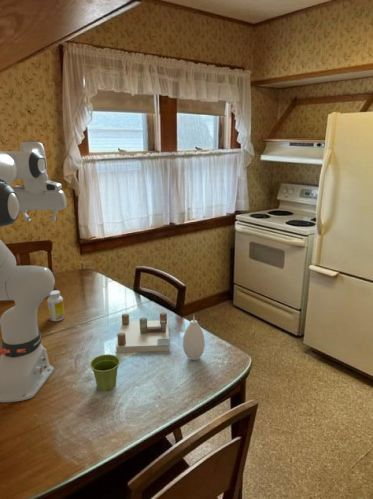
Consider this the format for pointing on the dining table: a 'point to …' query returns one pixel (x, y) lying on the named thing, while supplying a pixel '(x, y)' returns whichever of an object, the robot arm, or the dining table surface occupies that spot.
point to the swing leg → (151, 329)
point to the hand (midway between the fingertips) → (41, 221)
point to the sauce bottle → (193, 340)
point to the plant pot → (105, 371)
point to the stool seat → (142, 336)
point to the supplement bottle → (55, 306)
